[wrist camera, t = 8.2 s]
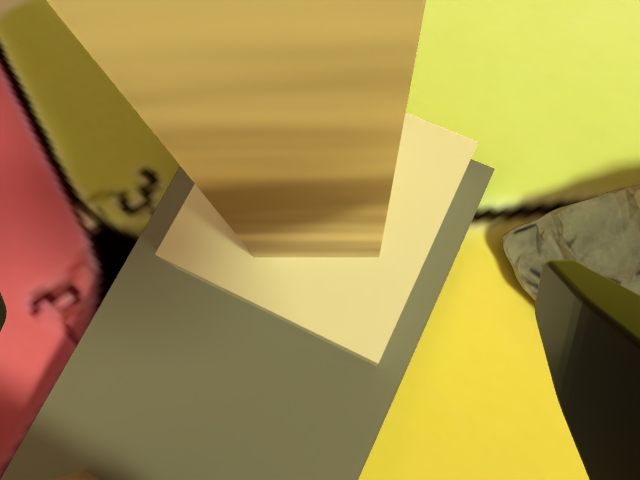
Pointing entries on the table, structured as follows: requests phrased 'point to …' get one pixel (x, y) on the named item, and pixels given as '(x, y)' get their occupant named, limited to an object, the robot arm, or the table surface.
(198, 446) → the building board
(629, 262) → the fossil rock
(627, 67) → the table surface
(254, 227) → the beech pillar
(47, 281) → the table surface
